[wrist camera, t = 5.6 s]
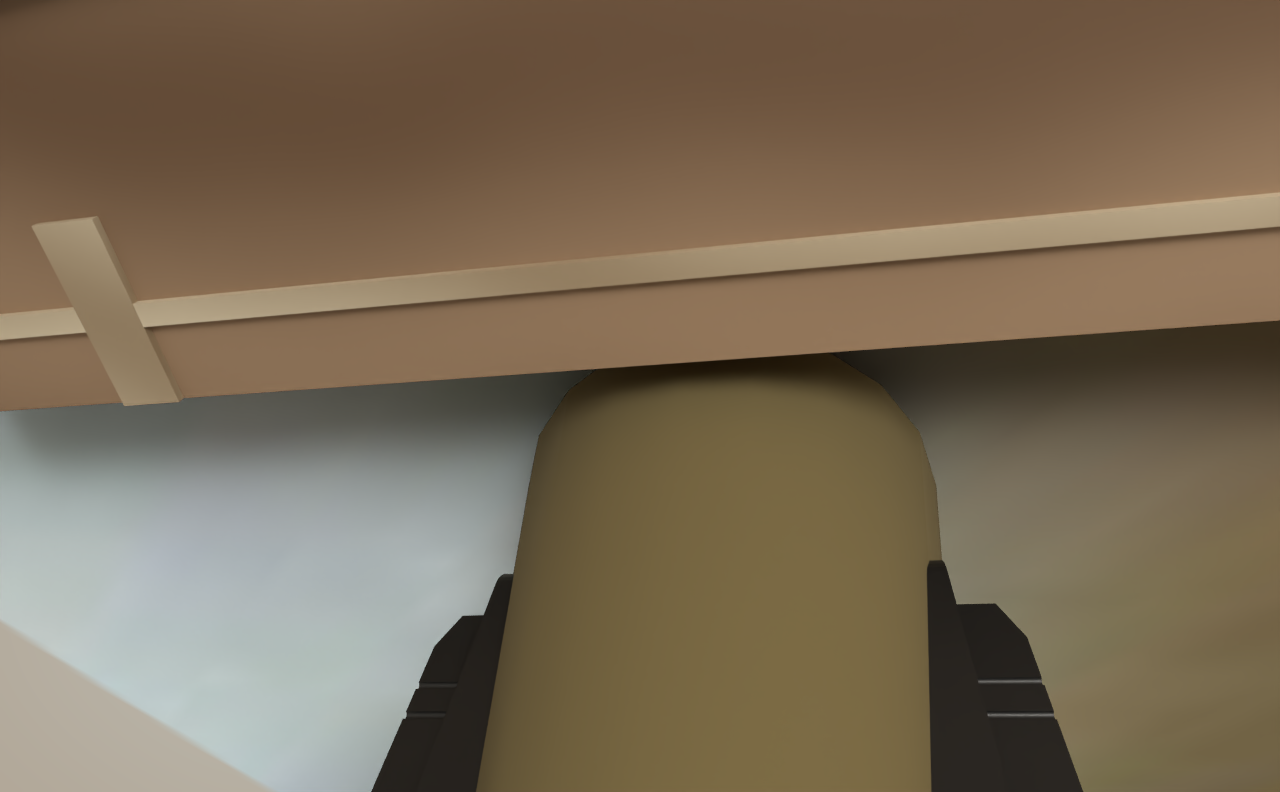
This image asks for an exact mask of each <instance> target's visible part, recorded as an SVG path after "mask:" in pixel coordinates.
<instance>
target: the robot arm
mask: <svg viewBox="0 0 1280 792" xmlns="http://www.w3.org/2000/svg"><path fill="white" fill-rule="evenodd" d="M513 577H514V574H503V575H501V576H500V577H499V579H498V580H497V582H496V585H495V587H494V590H493V592H492V595H491V598H490V600H489V603H488V605H487V608H486V610H485V613H484V615H477V616H462V617H461V618H460V619H459V620H458V622H457V623H456V624H455V625H454V626H453V627H452V628H451V629H450V630H449V631H448V632H447V633H446V635H445V636H444V637H443V638H442V639H441V640H440V641H439V642H438V643H437V644H436V645H435V647H434V649H433V651H432V653H431V656H430V658H429V660H428V663H427V665H426V667H425V669H424V672H423V674H422V676H421V679H420V681H419V689H416V690H415V692H414V695H413V697H412V699H411V702H410V704H409V706H408V708H407V711H406V712H407V716H406V719H403V720H402V722H401V725H400V727H399V729H398V731H397V734H396V736H395V738H394V741H393V743H392V745H391V748H390V750H389V752H388V754H387V757H386V759H385V761H384V764H383V766H382V768H381V771H380V773H379V775H378V777H377V780H376V782H375V784H374V787H373V789H372V791H371V792H476V789H477V783H478V777H479V772H480V766H481V760H482V755H483V749H484V743H485V737H486V732H487V726H488V720H489V715H490V709H491V703H492V697H493V692H494V686H495V680H496V675H497V669H498V663H499V657H500V652H501V646H502V640H503V635H504V629H505V623H506V617H507V612H508V606H509V600H510V594H511V589H512V583H513ZM927 608H928V656H929V704H930V752H931V792H1083V790H1082V787H1081V785H1080V782H1079V779H1078V776H1077V774H1076V771H1075V768H1074V765H1073V763H1072V760H1071V757H1070V754H1069V752H1068V749H1067V746H1066V743H1065V741H1064V738H1063V735H1062V732H1061V729H1060V727H1059V724H1058V721H1057V719H1055V718H1054V710H1053V707H1052V705H1051V702H1050V699H1049V696H1048V694H1047V691H1046V688H1045V685H1042V680H1041V674H1040V672H1039V669H1038V666H1037V663H1036V661H1035V658H1034V655H1033V652H1032V650H1031V647H1030V644H1029V641H1028V639H1027V637H1026V636H1025V635H1024V633H1023V632H1022V631H1021V630H1020V629H1019V628H1018V627H1017V626H1016V625H1015V624H1014V623H1013V622H1012V621H1011V620H1010V619H1009V617H1008V616H1007V615H1006V614H1005V613H1004V612H1003V611H1002V610H1001V609H1000V608H999V607H998V606H997V605H996V604H958V605H957V604H956V600H955V597H954V593H953V590H952V586H951V583H950V579H949V575H948V572H947V569H946V566H945V563H944V562H943V561H942V560H930V561H929V563H928V566H927Z"/></svg>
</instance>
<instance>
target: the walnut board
mask: <svg viewBox="0 0 1280 792" xmlns="http://www.w3.org/2000/svg"><path fill="white" fill-rule="evenodd" d="M1278 320H1280V0H0V411H9V410H23V409H38V408H52V407H66V406H80V405H94V404H108V403H123V405H124V406H131V405H145V404H159V403H174V402H180V401H181V400H182V399H184V398H193V397H207V396H221V395H235V394H249V393H263V392H277V391H291V390H305V389H320V388H334V387H348V386H362V385H376V384H390V383H404V382H418V381H432V380H446V379H461V378H475V377H489V376H503V375H517V374H531V373H545V372H559V371H573V370H588V369H602V368H616V367H630V366H644V365H658V364H672V363H686V362H700V361H714V360H729V359H743V358H757V357H771V356H785V355H799V354H813V353H827V352H841V351H855V350H870V349H884V348H898V347H912V346H926V345H940V344H954V343H968V342H982V341H996V340H1011V339H1025V338H1039V337H1053V336H1067V335H1081V334H1095V333H1109V332H1123V331H1137V330H1152V329H1166V328H1180V327H1194V326H1208V325H1222V324H1236V323H1250V322H1264V321H1278Z"/></svg>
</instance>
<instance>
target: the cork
mask: <svg viewBox="0 0 1280 792" xmlns="http://www.w3.org/2000/svg"><path fill="white" fill-rule="evenodd" d="M930 560H942V556H941V543H940V530H939V517H938V503H937V490H936V484H935V480H934V477H933V474H932V471H931V467H930V464H929V461H928V458H927V454H926V451H925V448H924V445H923V441H922V438H921V435H920V432H919V431H918V430H917V429H916V427H915V426H914V425H913V424H912V422H911V421H910V420H909V419H908V417H907V416H906V415H905V414H904V413H903V411H902V410H901V409H900V408H899V406H898V405H897V404H896V403H895V401H894V400H893V399H892V398H891V396H890V395H889V394H888V393H887V392H886V390H885V389H884V388H883V387H882V385H881V384H879V383H877V382H876V381H874V380H873V379H871V378H869V377H868V376H866V375H864V374H863V373H861V372H860V371H858V370H856V369H855V368H853V367H852V366H850V365H848V364H847V363H845V362H843V361H842V360H840V359H839V358H837V357H835V356H834V355H832V354H831V353H829V352H827V353H813V354H799V355H785V356H771V357H757V358H743V359H729V360H714V361H700V362H686V363H672V364H658V365H644V366H630V367H616V368H602V369H597V370H596V371H594V372H593V373H591V374H590V375H589V376H587V377H586V378H585V379H583V380H582V381H580V382H579V383H578V384H576V385H575V386H574V387H572V388H571V389H570V390H569V391H568V392H567V394H566V395H565V397H564V398H563V400H562V401H561V403H560V404H559V406H558V407H557V409H556V410H555V412H554V413H553V415H552V416H551V418H550V420H549V421H548V423H547V424H546V426H545V427H544V429H543V430H542V432H541V433H540V435H539V438H538V443H537V448H536V453H535V458H534V463H533V468H532V473H531V478H530V483H529V488H528V494H527V500H526V505H525V511H524V517H523V522H522V528H521V534H520V539H519V545H518V550H517V556H516V562H515V567H514V573H513V574H514V577H513V583H512V589H511V594H510V600H509V606H508V612H507V617H506V623H505V629H504V635H503V640H502V646H501V652H500V657H499V663H498V669H497V675H496V680H495V686H494V692H493V697H492V703H491V709H490V715H489V720H488V726H487V732H486V737H485V743H484V749H483V755H482V760H481V766H480V772H479V777H478V783H477V789H476V792H931V752H930V704H929V656H928V608H927V566H928V563H929V561H930Z"/></svg>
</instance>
